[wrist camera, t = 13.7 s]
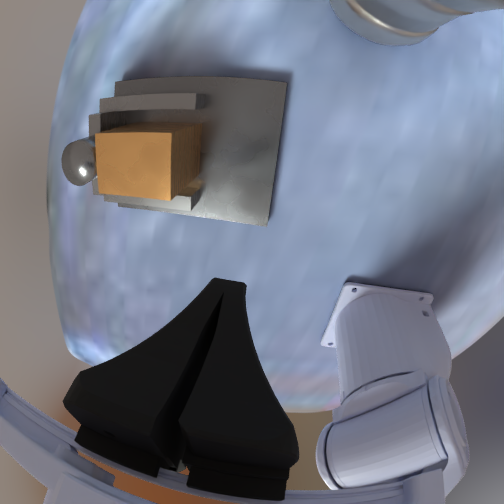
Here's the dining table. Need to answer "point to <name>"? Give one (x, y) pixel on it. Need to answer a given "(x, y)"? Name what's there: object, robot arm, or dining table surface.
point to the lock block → (148, 159)
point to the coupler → (212, 142)
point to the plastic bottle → (404, 17)
